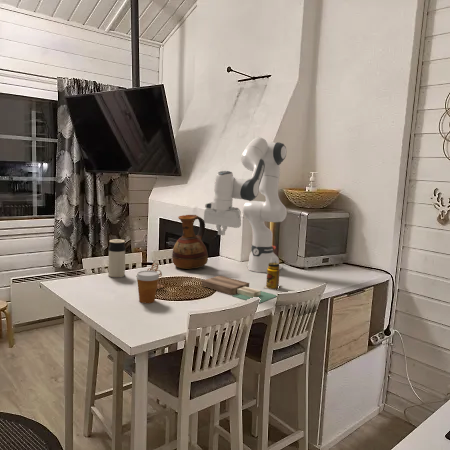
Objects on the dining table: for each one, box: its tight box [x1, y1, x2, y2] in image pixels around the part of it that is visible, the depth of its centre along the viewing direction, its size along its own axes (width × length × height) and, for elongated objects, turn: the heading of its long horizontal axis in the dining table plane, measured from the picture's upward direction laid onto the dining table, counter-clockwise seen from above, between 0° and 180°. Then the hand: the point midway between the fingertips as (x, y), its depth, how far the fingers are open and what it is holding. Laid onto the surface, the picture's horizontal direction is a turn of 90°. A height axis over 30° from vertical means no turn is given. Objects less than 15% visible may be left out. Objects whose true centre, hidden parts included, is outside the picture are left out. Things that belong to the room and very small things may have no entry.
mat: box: [232, 290, 277, 304], centre depth 191 cm, size 16×14×1 cm
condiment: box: [263, 263, 283, 291], centre depth 206 cm, size 7×8×12 cm
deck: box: [200, 275, 250, 296], centre depth 201 cm, size 14×18×3 cm
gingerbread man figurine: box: [146, 262, 165, 288], centre depth 193 cm, size 9×4×12 cm, turn 138°
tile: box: [236, 286, 262, 298], centre depth 192 cm, size 6×9×2 cm, turn 51°
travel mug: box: [107, 238, 126, 278], centre depth 211 cm, size 8×8×18 cm
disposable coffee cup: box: [135, 270, 160, 304], centre depth 175 cm, size 10×10×12 cm
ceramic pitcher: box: [171, 214, 209, 270], centre depth 236 cm, size 20×20×30 cm
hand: (221, 234), depth 200 cm, fingers closed
